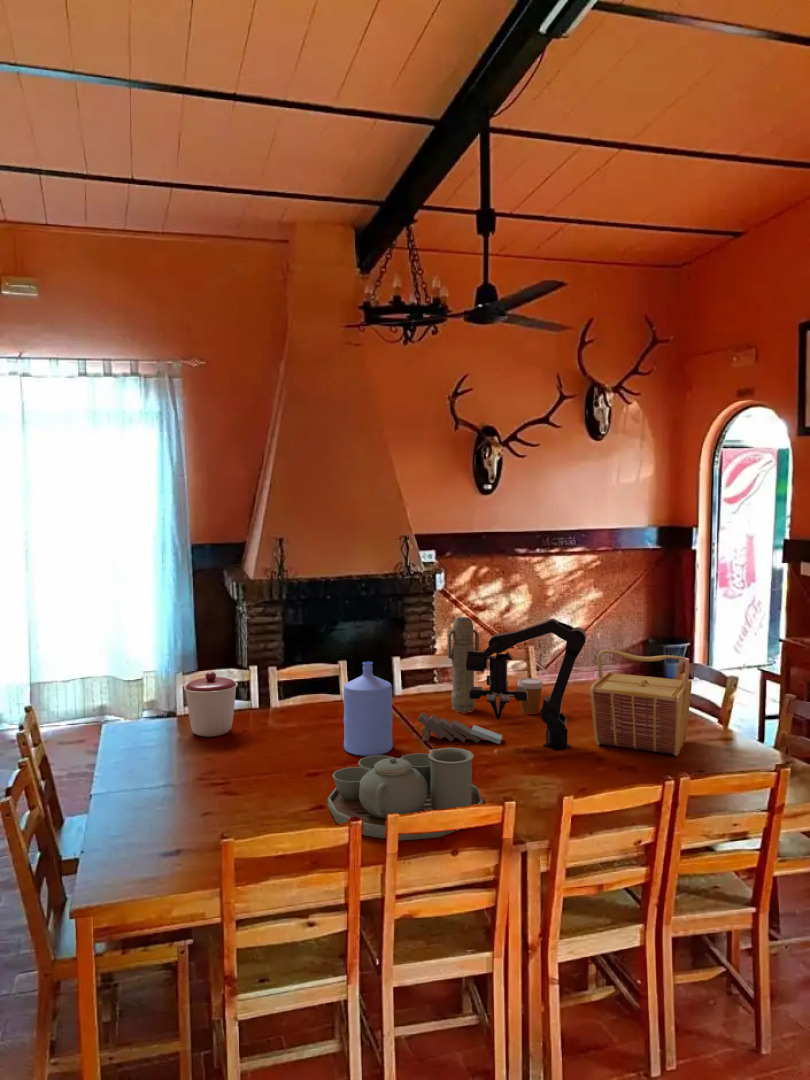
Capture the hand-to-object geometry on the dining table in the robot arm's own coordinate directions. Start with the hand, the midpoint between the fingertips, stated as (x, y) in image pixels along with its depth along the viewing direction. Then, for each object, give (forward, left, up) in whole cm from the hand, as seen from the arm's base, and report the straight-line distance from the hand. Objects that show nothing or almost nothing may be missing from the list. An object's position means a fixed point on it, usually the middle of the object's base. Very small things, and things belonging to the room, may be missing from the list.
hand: (498, 719), depth 259 cm
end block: (+17, +17, -8) cm, 25 cm away
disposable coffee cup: (+20, -32, -8) cm, 39 cm away
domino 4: (+4, +4, -7) cm, 9 cm away
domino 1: (+13, +13, -6) cm, 19 cm away
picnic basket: (-28, -36, -8) cm, 47 cm away
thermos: (+37, -14, -8) cm, 40 cm away
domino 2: (+10, +11, -7) cm, 16 cm away
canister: (+65, +74, -8) cm, 98 cm away
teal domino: (-1, -1, -7) cm, 7 cm away
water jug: (+19, +39, -8) cm, 44 cm away
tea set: (-27, +56, -8) cm, 63 cm away
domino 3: (+8, +8, -7) cm, 13 cm away
